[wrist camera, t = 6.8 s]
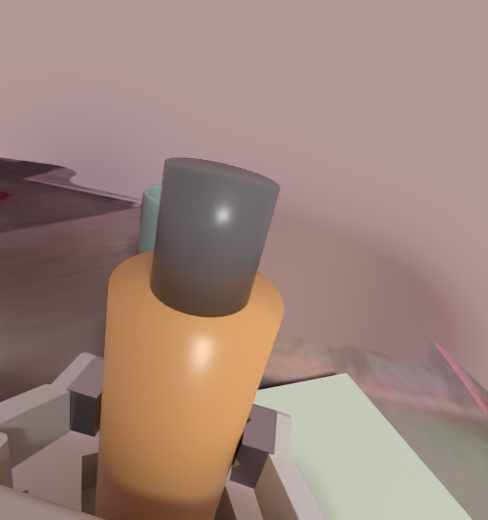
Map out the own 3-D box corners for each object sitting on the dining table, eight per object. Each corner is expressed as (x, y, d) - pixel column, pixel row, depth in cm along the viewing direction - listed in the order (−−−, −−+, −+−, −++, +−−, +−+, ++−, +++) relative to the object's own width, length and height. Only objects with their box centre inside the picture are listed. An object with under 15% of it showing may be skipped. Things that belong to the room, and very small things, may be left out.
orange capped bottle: (91, 490, 14) (109, 137, 8) (190, 462, 16) (265, 164, 10) (93, 631, 11) (128, 193, 4) (219, 573, 13) (366, 217, 6)
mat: (228, 407, 21) (231, 395, 21) (341, 383, 26) (346, 373, 25) (341, 678, 12) (353, 666, 11) (488, 565, 16) (501, 554, 16)
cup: (119, 281, 32) (127, 182, 28) (184, 268, 37) (199, 184, 33) (161, 326, 27) (176, 216, 23) (228, 303, 33) (250, 211, 28)
